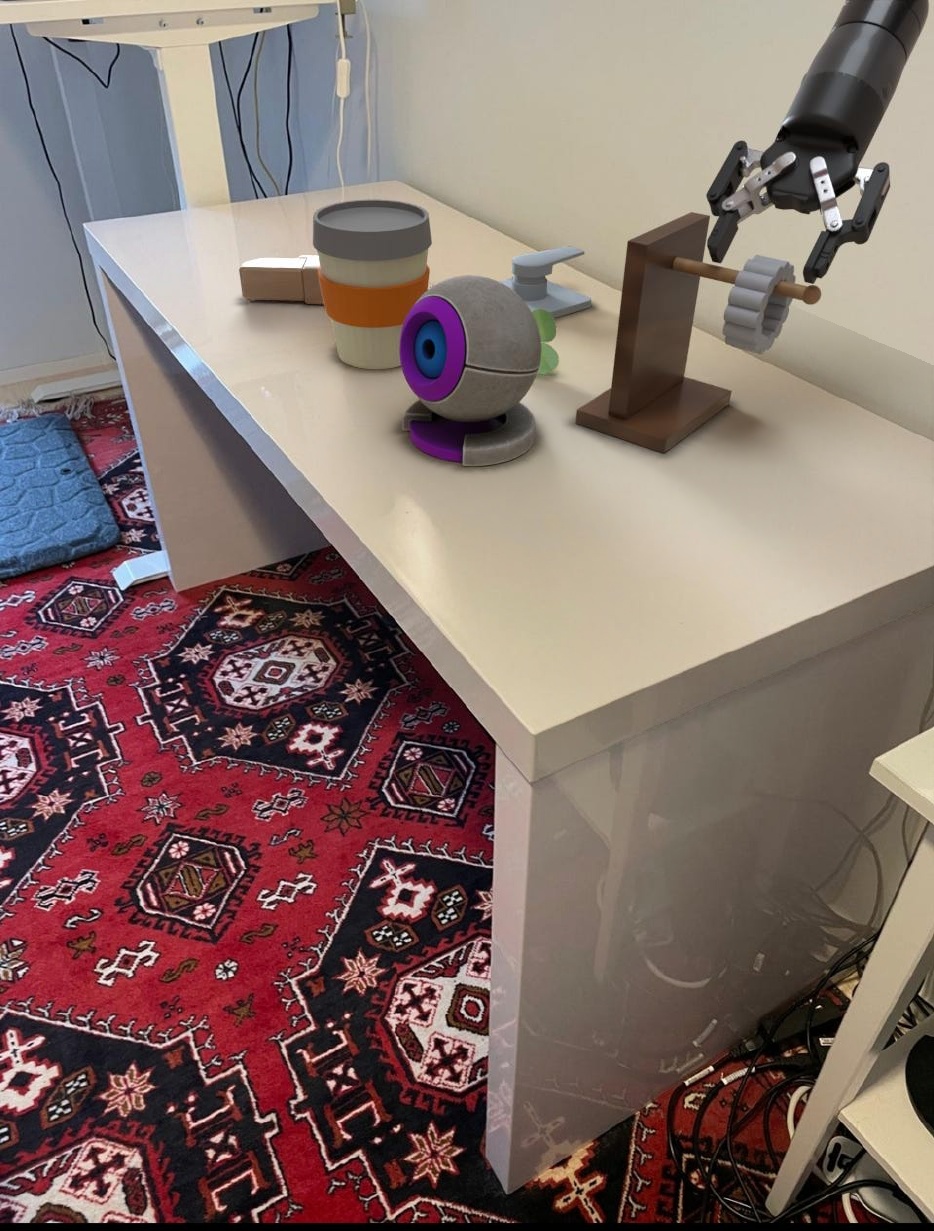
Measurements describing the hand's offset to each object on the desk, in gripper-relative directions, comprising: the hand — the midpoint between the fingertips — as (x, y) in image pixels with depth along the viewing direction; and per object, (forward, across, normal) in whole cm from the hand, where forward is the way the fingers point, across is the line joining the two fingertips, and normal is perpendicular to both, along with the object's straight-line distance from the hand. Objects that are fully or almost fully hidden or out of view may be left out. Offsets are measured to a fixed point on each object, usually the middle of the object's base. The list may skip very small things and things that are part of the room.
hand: (759, 267), depth 82 cm
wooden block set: (+6, +62, -18) cm, 65 cm away
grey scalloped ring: (+4, 0, -6) cm, 8 cm away
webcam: (+22, +20, -2) cm, 30 cm away
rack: (+11, +4, -13) cm, 17 cm away
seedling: (+9, +25, -15) cm, 30 cm away
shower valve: (-2, +37, -26) cm, 45 cm away
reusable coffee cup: (+15, +40, -8) cm, 44 cm away
